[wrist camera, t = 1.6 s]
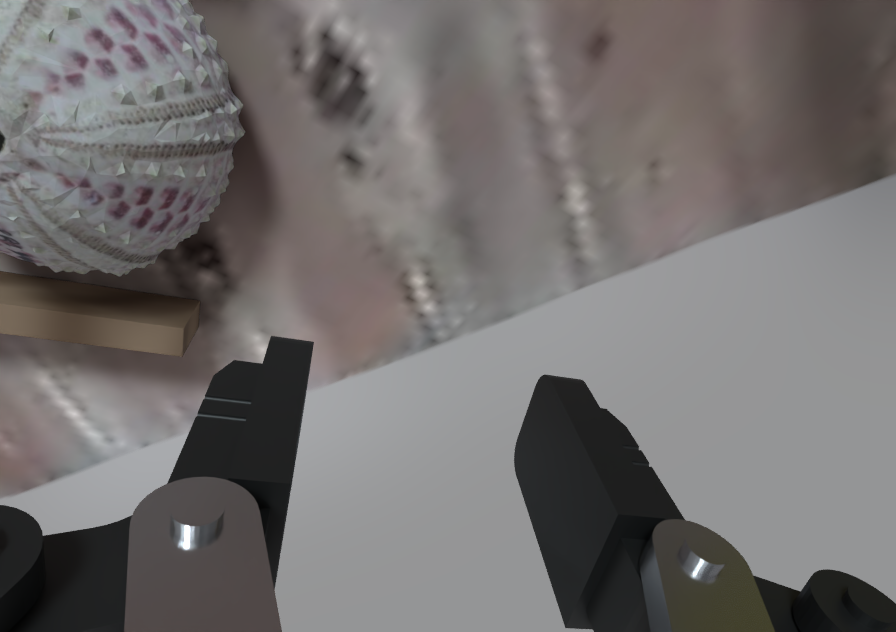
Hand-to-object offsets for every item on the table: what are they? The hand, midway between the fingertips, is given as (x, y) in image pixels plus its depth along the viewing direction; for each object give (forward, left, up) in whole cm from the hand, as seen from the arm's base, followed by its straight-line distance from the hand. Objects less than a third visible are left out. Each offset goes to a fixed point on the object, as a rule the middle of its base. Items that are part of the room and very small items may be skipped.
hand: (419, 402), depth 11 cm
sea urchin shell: (+13, 0, -20) cm, 24 cm away
